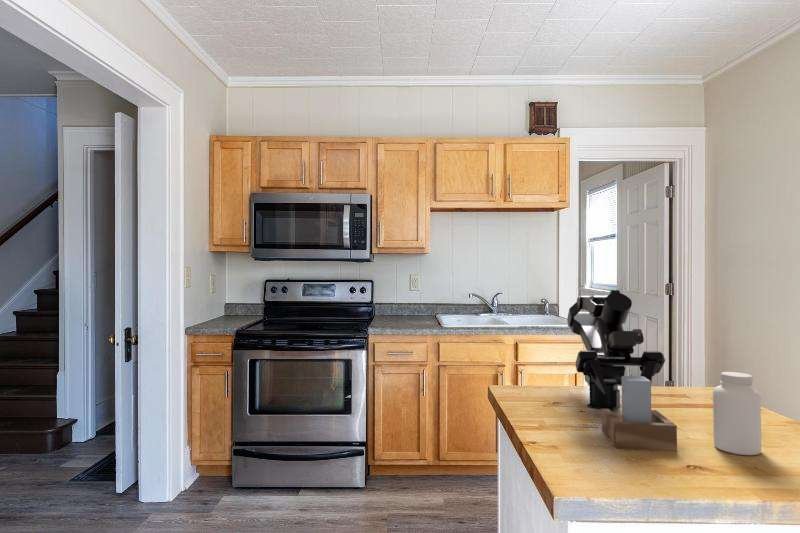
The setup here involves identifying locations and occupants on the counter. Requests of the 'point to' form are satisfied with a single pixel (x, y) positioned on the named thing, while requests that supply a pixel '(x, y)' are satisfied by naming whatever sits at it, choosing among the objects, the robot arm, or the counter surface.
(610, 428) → the brown wooden tray
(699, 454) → the counter surface
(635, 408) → the block
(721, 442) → the pill bottle
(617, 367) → the robot arm
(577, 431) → the counter surface
